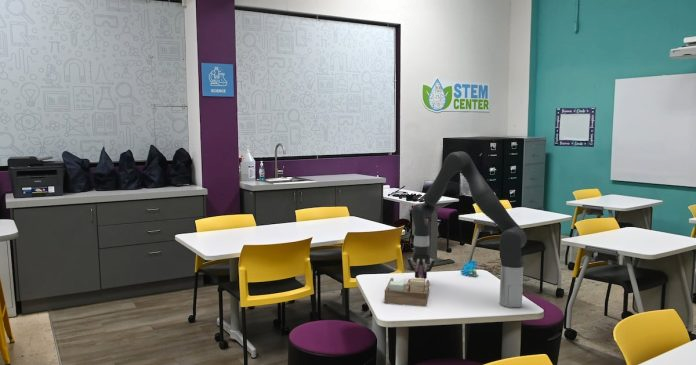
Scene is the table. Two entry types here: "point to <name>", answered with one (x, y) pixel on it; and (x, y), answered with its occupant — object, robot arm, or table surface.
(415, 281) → the purple handled mallet
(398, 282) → the sage block
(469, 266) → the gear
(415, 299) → the wooden tray
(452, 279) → the table surface
